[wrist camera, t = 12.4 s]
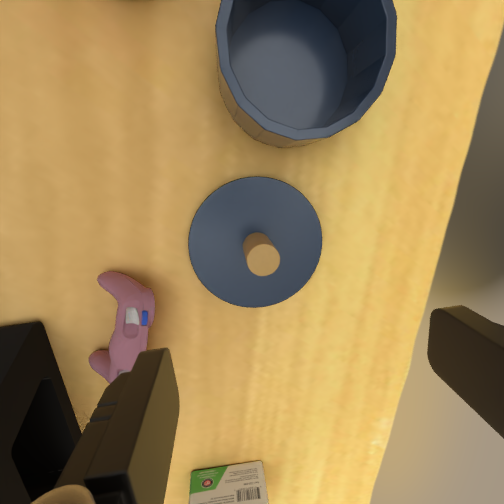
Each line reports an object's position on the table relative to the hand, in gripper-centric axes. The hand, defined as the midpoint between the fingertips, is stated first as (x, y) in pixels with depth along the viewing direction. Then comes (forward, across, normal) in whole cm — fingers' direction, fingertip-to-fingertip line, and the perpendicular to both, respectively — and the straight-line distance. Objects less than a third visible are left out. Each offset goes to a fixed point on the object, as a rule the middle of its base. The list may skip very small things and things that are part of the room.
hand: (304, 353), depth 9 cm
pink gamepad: (+19, +12, +8) cm, 24 cm away
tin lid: (+19, 0, +2) cm, 19 cm away
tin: (+20, -5, -12) cm, 24 cm away
